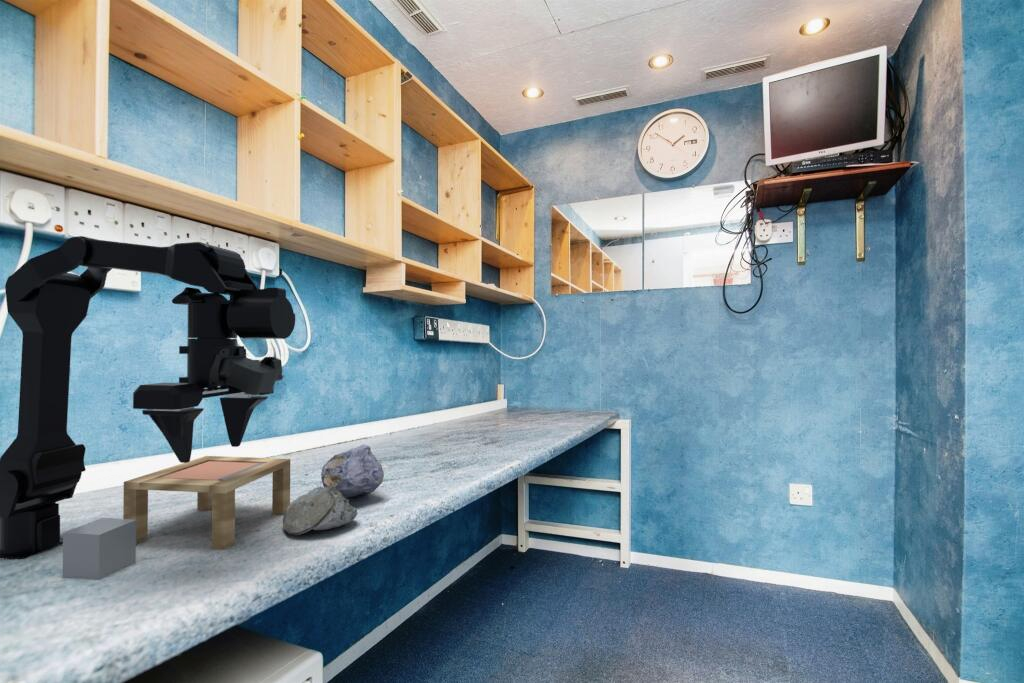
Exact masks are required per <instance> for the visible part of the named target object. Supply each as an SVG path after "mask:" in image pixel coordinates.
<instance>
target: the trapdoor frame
mask: <svg viewBox="0 0 1024 683" xmlns="http://www.w3.org/2000/svg"><path fill="white" fill-rule="evenodd" d="M208 461H217V462H244V463H264V464H262V465H259V466H257V467H254V468H252V469H249V470H247V471H244V472H242V473H239V474H237V475H235V476H232V477H230V478H227V479H225V480H222V481H219V480H196V479H172V478H160V477H163V476H166V475H169V474H172V473H175V472H178V471H181V470H184V469H187V468H190V467H193V466H196V465H199V464H202V463H205V462H208ZM271 474H272V488H271V489H272V491H271V492H272V496H271V497H272V499H271V500H272V506H271V507H272V509H271V510H272V512H271V514H272V515H284V513H285V511H286V509H287V508H288V506H289V505H290V503H291V458H273V457H272V458H271V457H248V456H247V457H246V456H245V457H244V456H243V457H242V456H220V455H204V456H202V457H198V458H195V459H192V460H190V461H189V462H187V463H180V464H177V465H176V464H175V465H172V466H170V467H167V468H164V469H163V468H162V469H161V470H160V469H159V470H157V471H153V472H151V473H148V474H144V475H142V476H138V477H134V478H132V479H127V480H126V481H124V482H123V508H122V509H123V511H122V512H123V516H122V519H132V520H136V545H139V543H142V542H143V541H146V540H149V539H148V537H149V536H148V534H149V527H148V526H149V523H148V522H149V491H160V492H161V491H166V492H167V491H168V492H183V493H184V492H186V493H187V492H189V493H197V498H196V499H197V501H196V502H197V505H196V506H197V508H196V509H197V511H205V512H206V511H210V510H211V549H212V550H224V551H225V550H227V549H228V548H230V547H232V546H234V545H235V542H236V541H235V540H236V539H235V537H236V536H235V535H236V534H235V533H236V531H235V530H236V529H235V528H236V527H235V526H236V522H235V521H236V519H235V518H236V489H238V488H240V487H243V486H245V485H248V484H250V483H253V482H254V481H257V480H259V479H261V478H263V477H265V476H268V475H271Z"/></svg>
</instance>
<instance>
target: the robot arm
mask: <svg viewBox="0 0 1024 683" xmlns="http://www.w3.org/2000/svg"><path fill="white" fill-rule="evenodd" d="M80 267H86V269H85V271H83V272H82V273H81V274H80V275H79V274H76V273H71V272H73V271H74V270H76V269H77V268H80ZM112 269H113V270H122V271H129V272H137V273H146V274H153V275H160V276H161V275H162V276H165V277H168V278H169V279H171V280H174V281H178V282H180V283H183V284H186V285H190V286H193V287H188V286H186V287H185V288H184V289H183V291H181V292H180V293H179V294H177V295H175V296H174V297H173V298H172V299H171V303H172V304H174V305H181V306H187V337H186V338H187V342H186V343H187V344H186V345H179V347H178V350H179V351H178V354H179V355H181V354H182V355H186V356H187V357H186V359H187V361H186V375H187V376H180V377H178V382H159V383H158V382H157V383H156V382H155V383H147V384H139V386H138V387H137V388H136V389H135V390H134V391H133V392H132V409H133V410H134V409H135V410H141V411H142V415H143V416H149V417H150V418H151V420H152V421H153V423H154V424H155V426H157V428H158V429H159V432H161V433H162V436H164V438H165V439H166V441H167V443H168V445H169V446H170V448H171V450H172V451H173V453H174V455H175V457H176V458H177V460H178V461H179V462H180V464H182V463H187V462H189V461H191V456H192V450H193V437H194V423H195V421H196V419H197V418H198V417H199V415H201V413H202V412H203V411H204V408H203V407H201V408H200V407H199V405H200V403H201V402H202V401H203V399H207V398H214V397H218V396H219V402H220V405H221V411H222V415H223V418H224V424H225V428H226V433H227V436H228V440H229V444H230V446H231V447H234V448H238V447H240V446H241V443H242V441H243V438H244V436H245V432H246V429H247V427H248V424H249V422H250V418H251V417H252V415H253V414H252V413H253V412H254V409H256V407H258V406H259V405H260V404H261V403H262V402H264V401H266V400H267V399H268V397H269V396H267V395H272V394H274V389H275V383H276V382H278V381H282V380H283V378H284V375H283V374H282V373H283V366H282V359H280V358H278V357H275V356H265V357H263V359H262V360H259V359H251V358H248V357H247V349H246V348H245V346H244V345H238V338H241V339H245V340H247V339H248V340H249V339H252V340H253V339H255V340H269V339H270V340H272V339H273V340H274V339H275V340H276V339H277V340H285V339H287V338H289V337H290V336H291V335H292V333H293V332H294V328H295V327H296V326H295V325H296V313H294V309H293V306H292V303H291V302H290V300H289V299H288V298H287V290H286V289H285V288H281V287H266V288H259V287H258V285H257V283H256V282H255V280H254V279H253V278H252V277H251V274H249V272H248V271H247V269H246V263H245V262H244V259H243V258H242V256H241V254H239V253H238V252H236V251H234V250H230V249H227V248H223V247H219V246H216V245H211V244H208V243H205V242H200V241H191V242H180V243H179V242H178V243H177V242H176V243H175V244H174V243H173V244H172V245H169V246H155V245H145V244H137V243H128V242H120V241H111V240H102V239H96V238H92V237H88V236H83V235H79V236H71V237H70V238H68V239H67V240H66V241H64V242H63V243H62V244H61V245H60V246H58V247H57V248H54V249H52V250H50V251H49V250H48V251H46V252H44V253H41V254H38V255H37V256H34V257H32V258H29V259H28V260H27V261H25V262H24V263H23V264H22V265H21V266H20V267H19V268H18V269H17V270H15V271H14V273H12V274H11V275H9V276H8V277H7V279H6V282H5V285H4V287H5V288H4V289H5V299H6V300H5V301H6V308H7V312H8V315H9V316H10V317H11V318H12V320H13V321H14V323H15V324H16V325H17V326H18V328H19V329H20V330H21V333H22V342H21V359H20V360H21V362H20V364H21V365H20V380H19V381H20V382H19V399H18V400H19V403H18V420H17V422H18V423H17V434H16V437H15V439H13V441H12V443H11V444H10V445H9V446H8V448H6V450H5V451H4V452H3V453H2V455H1V456H0V558H4V559H3V560H15V559H18V560H20V559H21V560H25V559H28V558H30V557H32V556H35V555H37V554H40V553H43V552H45V551H48V550H51V549H53V548H56V547H58V546H60V545H63V536H61V515H60V503H58V502H61V501H64V500H69V499H72V498H73V496H74V493H75V490H76V487H77V485H78V483H79V482H80V480H81V478H82V472H86V467H85V455H86V446H85V445H84V444H83V443H81V444H80V443H79V444H76V442H75V441H74V440H73V438H71V436H70V435H69V433H68V418H69V416H68V413H69V412H68V411H69V393H70V392H69V391H70V377H71V376H70V375H71V355H72V337H73V333H74V332H75V331H76V330H77V329H78V327H79V326H80V325H81V324H82V322H83V321H84V320H85V319H86V317H87V316H88V311H89V306H90V301H91V300H92V298H93V297H94V296H96V295H97V294H98V293H99V292H100V291H102V290H103V289H104V287H105V285H106V280H107V275H108V273H109V272H110V271H111V270H112ZM196 287H197V288H196ZM198 287H200V288H203V289H204V290H206V291H207V292H202V290H201V289H200V288H198ZM224 295H227V296H229V299H227V297H225V296H224ZM220 396H222V397H220ZM223 396H224V397H223ZM6 558H7V559H6Z"/></svg>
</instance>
